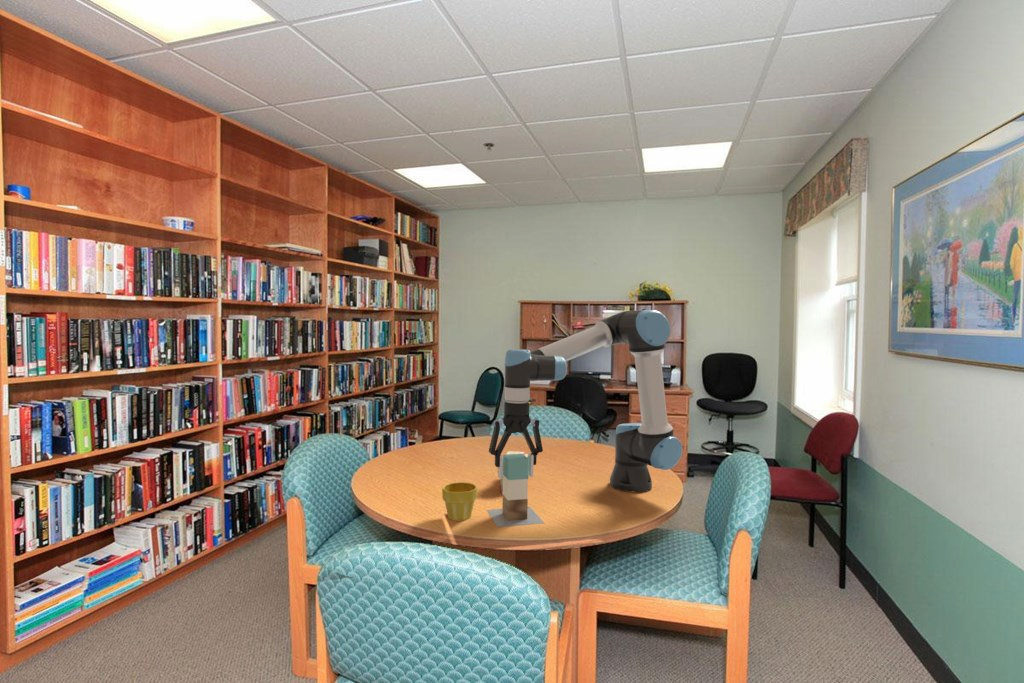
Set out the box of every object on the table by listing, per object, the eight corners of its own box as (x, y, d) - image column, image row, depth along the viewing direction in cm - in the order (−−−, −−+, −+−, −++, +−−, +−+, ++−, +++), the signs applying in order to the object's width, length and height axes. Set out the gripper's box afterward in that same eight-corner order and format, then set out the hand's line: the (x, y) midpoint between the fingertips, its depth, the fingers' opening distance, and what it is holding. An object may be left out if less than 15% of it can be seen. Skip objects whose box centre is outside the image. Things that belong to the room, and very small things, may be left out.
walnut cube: (521, 511, 155) (521, 492, 155) (527, 519, 150) (527, 498, 149) (502, 513, 154) (502, 493, 154) (507, 520, 148) (508, 500, 148)
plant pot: (435, 517, 152) (436, 485, 152) (465, 510, 158) (466, 479, 158) (452, 528, 144) (452, 494, 144) (483, 521, 150) (483, 488, 150)
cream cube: (521, 492, 155) (521, 473, 155) (527, 498, 149) (527, 478, 149) (502, 493, 154) (502, 474, 153) (507, 500, 148) (508, 480, 148)
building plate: (529, 509, 160) (529, 506, 160) (544, 526, 147) (544, 522, 147) (486, 513, 156) (486, 510, 156) (497, 530, 143) (497, 527, 143)
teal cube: (521, 473, 155) (522, 453, 155) (527, 478, 149) (528, 458, 149) (502, 474, 153) (503, 454, 153) (508, 480, 148) (508, 459, 147)
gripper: (546, 398, 157) (545, 471, 158) (478, 400, 151) (477, 475, 152) (555, 402, 150) (553, 478, 151) (484, 403, 144) (482, 482, 145)
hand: (515, 476), depth 151 cm, fingers open, 9 cm apart
